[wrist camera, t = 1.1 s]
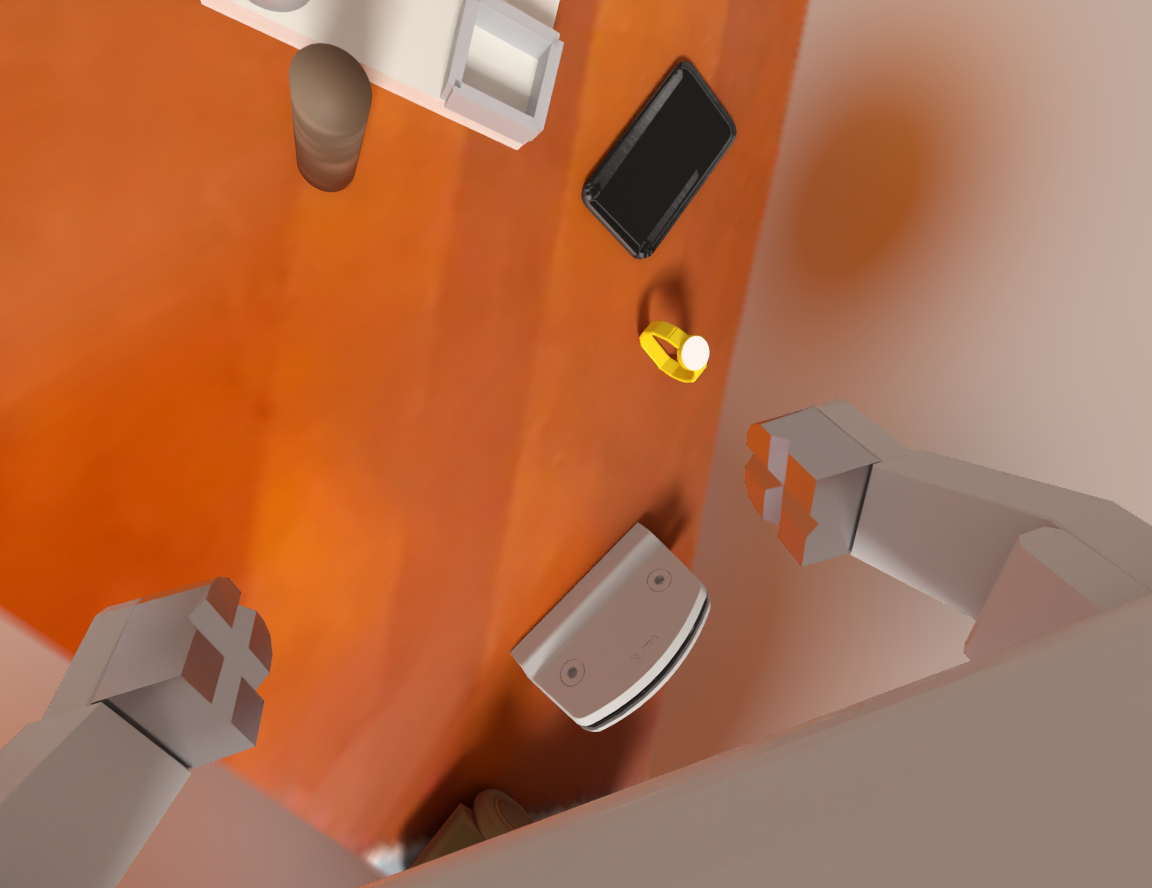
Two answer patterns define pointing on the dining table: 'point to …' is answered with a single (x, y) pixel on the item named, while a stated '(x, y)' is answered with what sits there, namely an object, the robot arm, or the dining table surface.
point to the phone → (660, 162)
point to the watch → (688, 351)
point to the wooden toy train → (475, 824)
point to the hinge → (617, 632)
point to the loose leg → (328, 114)
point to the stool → (434, 52)
